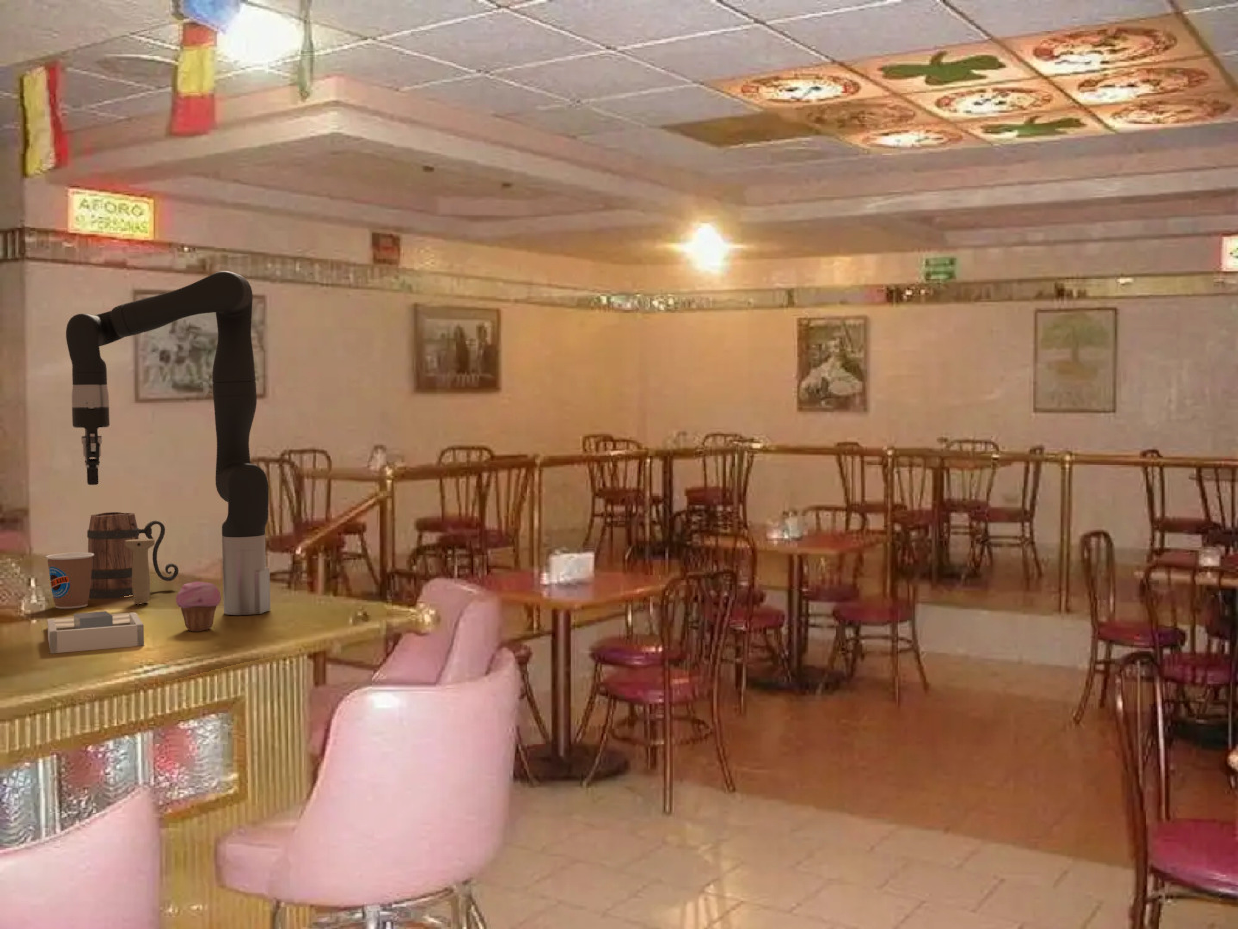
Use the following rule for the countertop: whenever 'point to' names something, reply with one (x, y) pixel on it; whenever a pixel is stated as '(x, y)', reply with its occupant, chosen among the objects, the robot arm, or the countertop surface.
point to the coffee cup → (70, 579)
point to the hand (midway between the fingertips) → (92, 484)
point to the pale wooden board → (68, 622)
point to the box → (96, 637)
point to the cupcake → (198, 604)
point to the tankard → (117, 553)
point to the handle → (140, 568)
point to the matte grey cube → (93, 620)
